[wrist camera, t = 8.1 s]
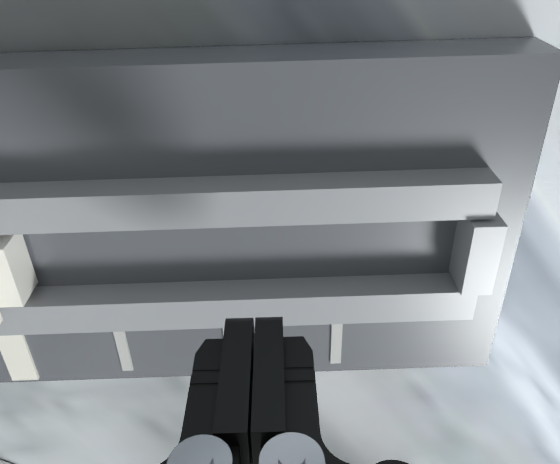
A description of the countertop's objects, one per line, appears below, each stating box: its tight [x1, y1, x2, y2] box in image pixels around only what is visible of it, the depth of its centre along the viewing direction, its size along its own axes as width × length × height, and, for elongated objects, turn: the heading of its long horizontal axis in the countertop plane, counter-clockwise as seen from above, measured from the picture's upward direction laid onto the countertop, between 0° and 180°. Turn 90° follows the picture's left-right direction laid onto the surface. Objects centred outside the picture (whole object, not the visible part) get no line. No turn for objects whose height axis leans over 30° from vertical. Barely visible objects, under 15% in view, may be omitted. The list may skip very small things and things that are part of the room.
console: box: [0, 37, 560, 382], centre depth 18 cm, size 24×12×3 cm, turn 91°
